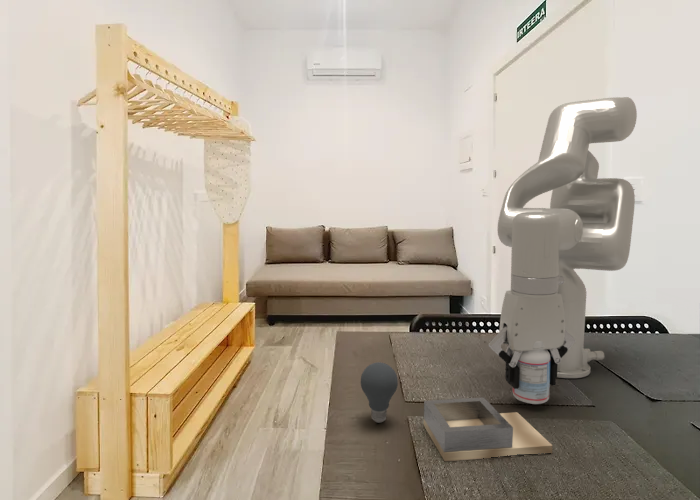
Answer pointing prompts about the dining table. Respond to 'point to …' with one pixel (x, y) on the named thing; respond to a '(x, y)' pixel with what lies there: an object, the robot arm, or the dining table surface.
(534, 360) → the pill bottle
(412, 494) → the dining table surface
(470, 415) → the collar
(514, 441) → the board
